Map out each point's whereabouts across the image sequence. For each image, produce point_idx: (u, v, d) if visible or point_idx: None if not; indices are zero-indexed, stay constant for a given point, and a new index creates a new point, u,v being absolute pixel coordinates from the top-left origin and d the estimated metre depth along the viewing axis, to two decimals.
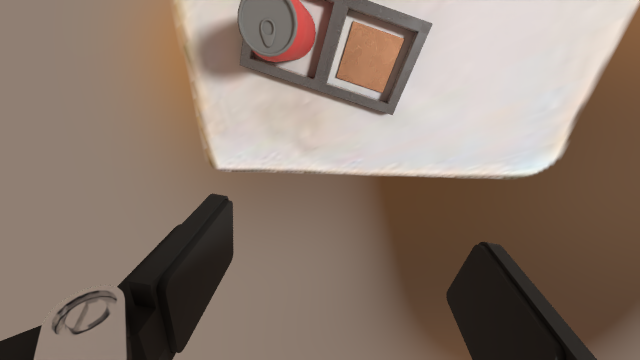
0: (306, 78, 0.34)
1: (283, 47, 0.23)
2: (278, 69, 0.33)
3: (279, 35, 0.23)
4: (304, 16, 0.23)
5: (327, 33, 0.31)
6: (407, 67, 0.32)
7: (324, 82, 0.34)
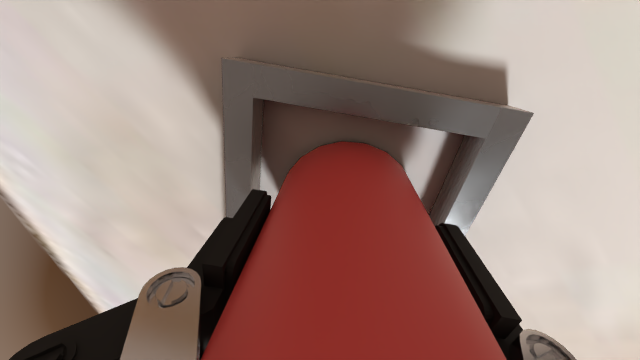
0: None
1: None
2: (247, 188, 0.11)
3: None
4: None
5: None
6: None
7: None
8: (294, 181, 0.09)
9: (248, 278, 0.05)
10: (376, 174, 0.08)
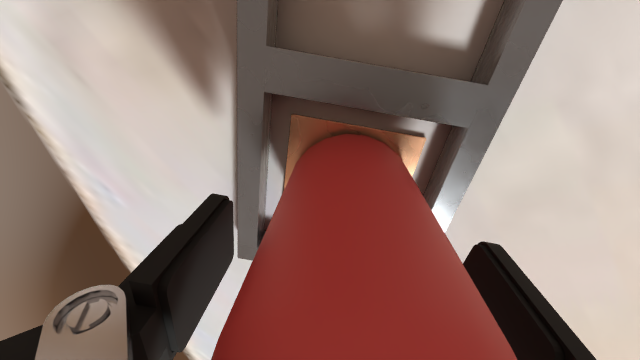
0: (264, 15, 0.09)
1: None
2: None
3: None
4: None
5: (404, 74, 0.10)
6: None
7: (266, 85, 0.11)
8: (303, 167, 0.10)
9: (271, 239, 0.06)
10: (377, 160, 0.09)
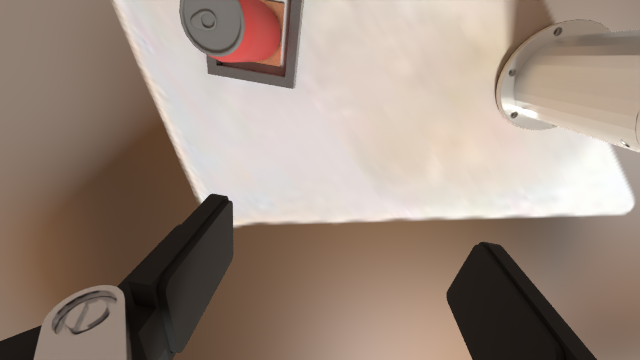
0: None
1: (196, 41, 0.21)
2: None
3: (206, 35, 0.21)
4: (239, 59, 0.23)
5: None
6: (254, 76, 0.32)
7: None
8: None
9: None
10: None
